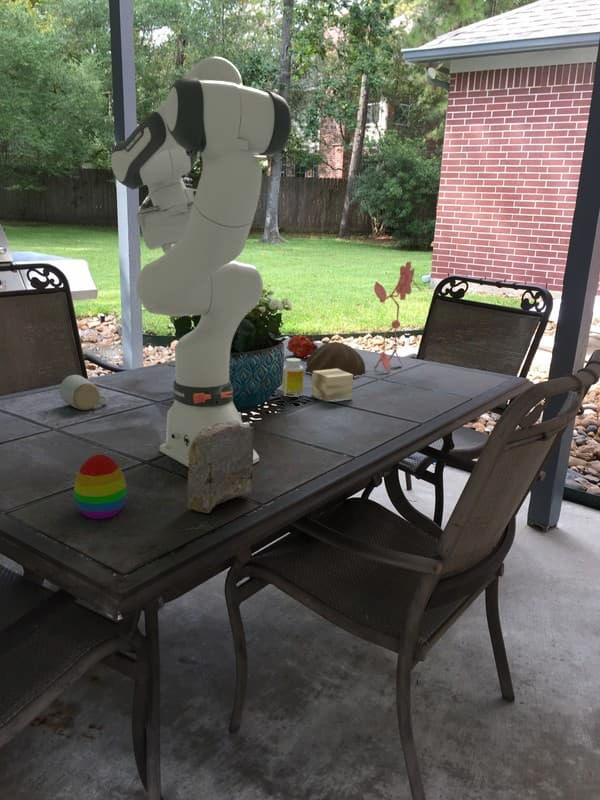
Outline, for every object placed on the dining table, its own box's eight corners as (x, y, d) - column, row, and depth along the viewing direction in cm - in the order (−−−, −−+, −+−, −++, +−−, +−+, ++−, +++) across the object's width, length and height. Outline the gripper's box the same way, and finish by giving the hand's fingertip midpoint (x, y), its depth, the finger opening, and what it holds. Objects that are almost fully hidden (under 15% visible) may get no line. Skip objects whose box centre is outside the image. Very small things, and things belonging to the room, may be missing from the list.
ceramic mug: (74, 413, 160) (73, 383, 158) (59, 406, 166) (58, 376, 163) (114, 407, 167) (113, 377, 165) (99, 400, 173) (98, 371, 171)
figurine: (360, 373, 209) (370, 260, 199) (393, 360, 230) (404, 258, 220) (405, 382, 201) (417, 265, 192) (435, 368, 223) (448, 262, 213)
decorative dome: (291, 371, 211) (292, 340, 208) (335, 363, 224) (336, 334, 221) (334, 383, 198) (336, 350, 195) (378, 374, 211) (380, 343, 208)
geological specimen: (231, 490, 119) (231, 411, 115) (256, 500, 116) (257, 418, 112) (186, 509, 111) (185, 424, 107) (211, 520, 108) (211, 433, 103)
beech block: (352, 399, 180) (353, 374, 178) (327, 403, 176) (328, 377, 174) (336, 392, 187) (337, 368, 185) (311, 395, 183) (312, 371, 181)
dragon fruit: (286, 358, 236) (315, 367, 230) (278, 347, 228) (307, 357, 223) (297, 337, 237) (325, 346, 232) (289, 326, 230) (318, 335, 225)
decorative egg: (133, 503, 113) (131, 447, 110) (117, 524, 105) (115, 466, 102) (86, 500, 113) (83, 445, 111) (67, 521, 106) (63, 463, 103)
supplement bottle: (306, 396, 182) (308, 360, 179) (290, 399, 178) (291, 362, 175) (293, 392, 186) (295, 356, 183) (278, 395, 182) (279, 358, 179)
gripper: (139, 206, 149) (162, 264, 151) (212, 190, 161) (233, 245, 163) (128, 215, 154) (151, 272, 156) (200, 200, 166) (221, 252, 168)
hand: (193, 258), depth 159 cm, fingers open, 8 cm apart
